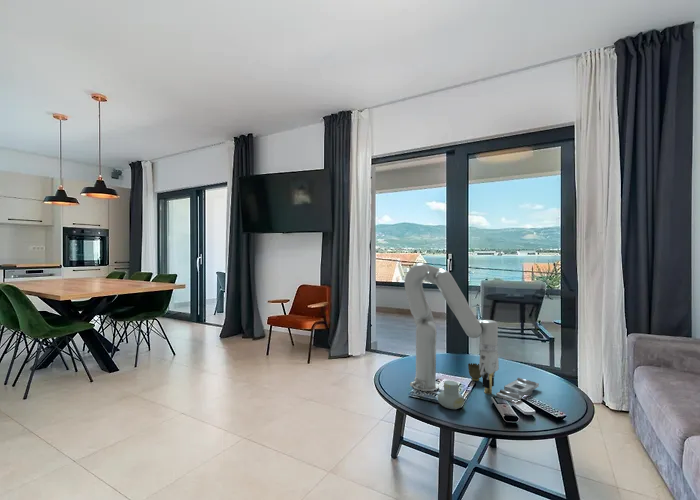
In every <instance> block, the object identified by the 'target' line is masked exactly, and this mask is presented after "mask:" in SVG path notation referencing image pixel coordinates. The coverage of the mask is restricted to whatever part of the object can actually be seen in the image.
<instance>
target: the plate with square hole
mask: <svg viewBox="0 0 700 500" xmlns="http://www.w3.org/2000/svg"><path fill="white" fill-rule="evenodd" d="M503 386H504V387H503V388H504V389H500V390H499V391H498V392H496V395H495V396H496V397H497V398H499V399H502V398H503V399H502V400H505V401H508V402H511V401H512V400H514V401H518V400H521V399H522V397H523V396H524V395H529V396H531V395H533V391H534V390H536V389H537V388H539V387H540V384H539V383H538V382H535V381H533V380H532V381H531V380H528V379H525V378H521V377H517V379H516V380H514V381H512V382H509V383H508V384H505V385H503ZM521 401H522V400H521Z"/></svg>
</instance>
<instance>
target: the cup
mask: <svg viewBox="0 0 700 500" xmlns="http://www.w3.org/2000/svg"><path fill="white" fill-rule="evenodd" d="M467 367H468V368H467V369H468V374H469V376H470V378H471V380H472V381H473V382H479V381H480V378H482V376H481V375H480V372H481V371H480V369H479V363H478V364H477V363H476V362H471V363H470V362H469V363H468V364H467Z"/></svg>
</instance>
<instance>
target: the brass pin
mask: <svg viewBox="0 0 700 500" xmlns="http://www.w3.org/2000/svg"><path fill="white" fill-rule="evenodd" d="M485 372H486V371H485ZM484 374H485V373H484ZM486 375H487V374H486ZM492 375H493V373H491V374H489V380H490V388H485V387H484V390H483V391H484V394H486V395H492V393H493V386H492Z"/></svg>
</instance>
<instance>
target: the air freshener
mask: <svg viewBox="0 0 700 500" xmlns="http://www.w3.org/2000/svg"><path fill="white" fill-rule="evenodd" d="M437 401H438V403H439V404H440V405H441V406H442V407H444V408H446V409H450V410H457V409H460V408H462V407H463V406H464V404H465V397H464V396H463V395H462V393H460V392H459V383H458V382H457V381H455V380H445V381H444V382H443V390H442V391H441V392H439V393H438V395H437Z"/></svg>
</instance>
